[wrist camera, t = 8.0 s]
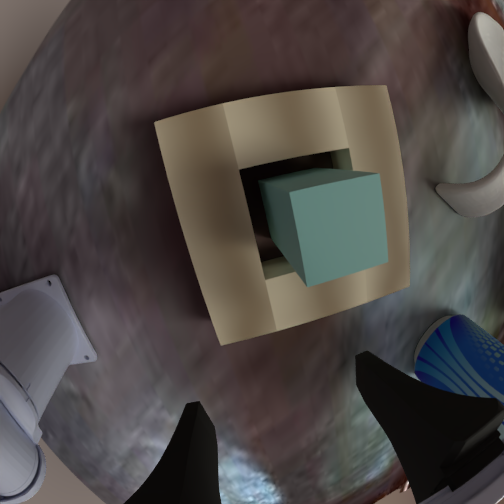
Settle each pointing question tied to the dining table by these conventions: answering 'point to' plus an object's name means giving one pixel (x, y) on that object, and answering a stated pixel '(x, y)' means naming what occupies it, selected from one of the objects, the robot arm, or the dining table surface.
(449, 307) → the dining table surface
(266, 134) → the board
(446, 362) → the beer can
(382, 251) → the teal block
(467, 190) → the spoon rest
